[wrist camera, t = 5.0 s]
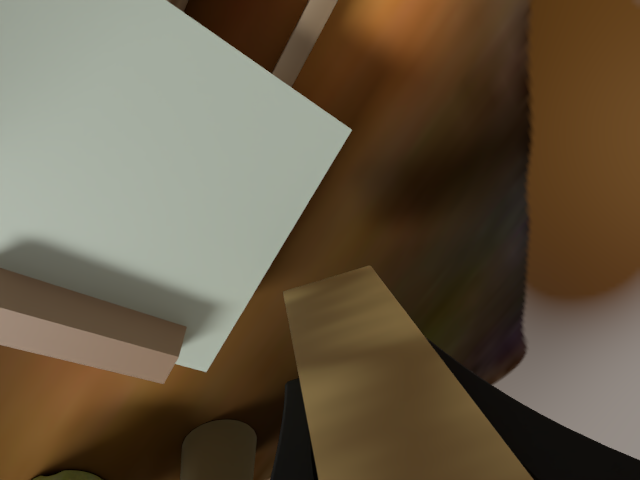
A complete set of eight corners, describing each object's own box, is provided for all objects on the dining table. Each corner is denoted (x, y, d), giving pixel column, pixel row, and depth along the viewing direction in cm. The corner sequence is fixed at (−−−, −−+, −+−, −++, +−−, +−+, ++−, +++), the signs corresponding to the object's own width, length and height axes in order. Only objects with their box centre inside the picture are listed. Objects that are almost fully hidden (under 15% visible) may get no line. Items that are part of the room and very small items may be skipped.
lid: (-76, 276, 13) (-163, 323, 10) (28, -92, 9) (-60, -170, 7) (208, 358, 17) (201, 405, 15) (345, 128, 14) (368, 134, 11)
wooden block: (304, 358, 15) (385, 725, 6) (283, 291, 13) (353, 666, 4) (381, 333, 16) (561, 642, 7) (370, 265, 14) (594, 560, 5)
